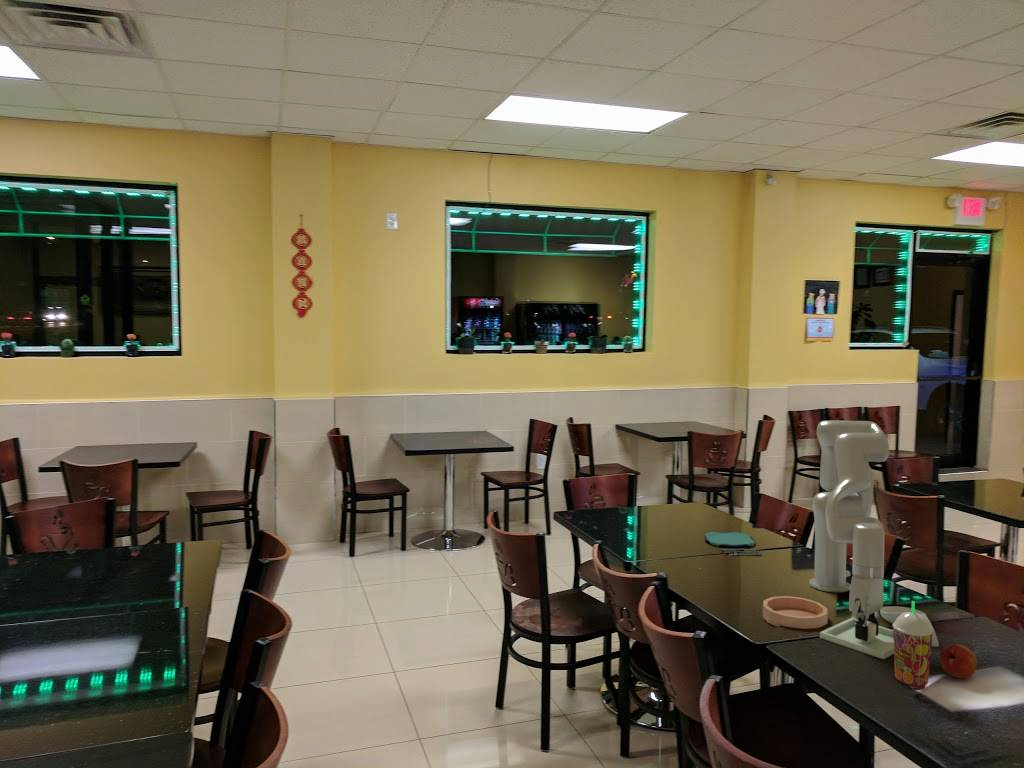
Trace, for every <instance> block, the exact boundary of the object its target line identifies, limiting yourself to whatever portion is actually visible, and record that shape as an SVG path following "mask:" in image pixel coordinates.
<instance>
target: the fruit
mask: <svg viewBox="0 0 1024 768" xmlns="http://www.w3.org/2000/svg"><path fill="white" fill-rule="evenodd" d="M939 660H940V665H941V666H940V667H941V668H942V670H943V671H944V672H945V673H946V674H948V675H950V676H951V677H954V678H957V679H963V680H964V679H967V678H970V677H972V676H973V675H974V674H975V672H976V670H977V666H978V660H977V658H976V655H975V654H974V652H973V650H972V649H970V648H969V647H967V646H965V645H963V644H959V643H953V644H949V645H947V646H945V647H944V648H943V649H942V650H941V651H940V652H939Z"/></svg>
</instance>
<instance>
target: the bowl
mask: <svg viewBox="0 0 1024 768" xmlns="http://www.w3.org/2000/svg"><path fill="white" fill-rule="evenodd" d="M828 613H829V612H828V607H826V606H825V605H823V604H821V603H820V602H818V601H814V600H811V599H809V598H805V597H798V596H790V595H784V596H783V595H782V596H771V597H769V598H766V599H764V600H763V604H762V619H763V620H764V619H765V620H766V621H767V622H766V621H765V620H764V621H765V622H766V623H768V624H769V623H770V624H769V625H771V624H772V625H771V626H773V625H774V626H773V627H775V626H777V627H776V628H778V627H780V626H783V627H787V628H793V629H803V630H804V629H806V630H807V629H808V630H809V629H819V628H821V627H824V626H826V625H828Z"/></svg>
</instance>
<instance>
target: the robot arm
mask: <svg viewBox="0 0 1024 768" xmlns="http://www.w3.org/2000/svg"><path fill="white" fill-rule="evenodd" d="M816 427H817V428H816V438H817V441H818V443H819V445H820V449H821V452H820V453H821V455H820V468H819V484H820V487H821V488H822V489H823V490H825V491H823V492H819V493H816V494H815V495H814V496H813V498H812V510H813V517H814V519H813V520H814V577H812V578H810V579H809V580H808V581H809V585H810V586H811V587H812V588H814V589H817V590H819V591H823V592H829V593H846V592H849V595H848V596H849V598H848V610H849V612H851V615H850V618H853V619H854V623H855V638H857V639H860V640H863V641H868V626H867V621H869V622H873V623H875V624H876V636H878V626H879V620H880V609H882V607H884V581H883V579H884V577H885V576H884V575H885V574H884V573H885V527H884V524H883V523H882V522H881V521H880V519H878V518H876V517H871V514H872V513H871V512H872V505H873V496H874V486H875V485H874V484H875V483H874V482H875V478H874V477H875V476H874V472H873V469H872V468H871V466H870V465H869V462H874V463H875V462H876V463H881V462H882V463H883V462H886V461H887V459H888V458H889V455H890V445H889V441H888V438H887V436H886V434H885V433H884V431H883V430H882V429H881V427H880V426H879V425H878V423H876V422H874V421H869V420H842V419H841V420H839V419H837V420H834V419H833V420H831V419H830V420H821V421H819V423H818V425H817V426H816ZM847 544H848V545H850V544H851V545H852V569H851V572H850V571H849V570H847ZM851 573H852V576H851ZM850 576H851V582H848V581H847V578H848V577H850ZM862 617H863V618H862Z"/></svg>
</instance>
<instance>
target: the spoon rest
mask: <svg viewBox="0 0 1024 768" xmlns="http://www.w3.org/2000/svg"><path fill="white" fill-rule="evenodd" d="M911 609H912V607H906V606H897V605H896V606H895V605H893V606H892V605H891V606H889V605H888V606H883V607H882V609H880V613H879V615H881V617H882V618H883V619H884V620H885V621H886V622H888V623H891V624H892V625H893V623H894V622H895V620H896V619H897V617H898V616H899V615H901V614H902V613H905V612H911ZM915 613H918V614H920V615H922V616H923V617H924V618H925V619H926V620H927V621H928V622H929V624H930V626H931V628H932V629H933V634H932V646H931V647H939V646H940V643H939V640H938V637H937V636H938V635H937V634H936V631H935V629H934V627H933V626H934V625H932V622H931V620H930V618H929V617H928V616H927V614H926V613H925V612H923V611H921V610H920V609H919V610H918V609H916V608H915Z"/></svg>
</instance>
